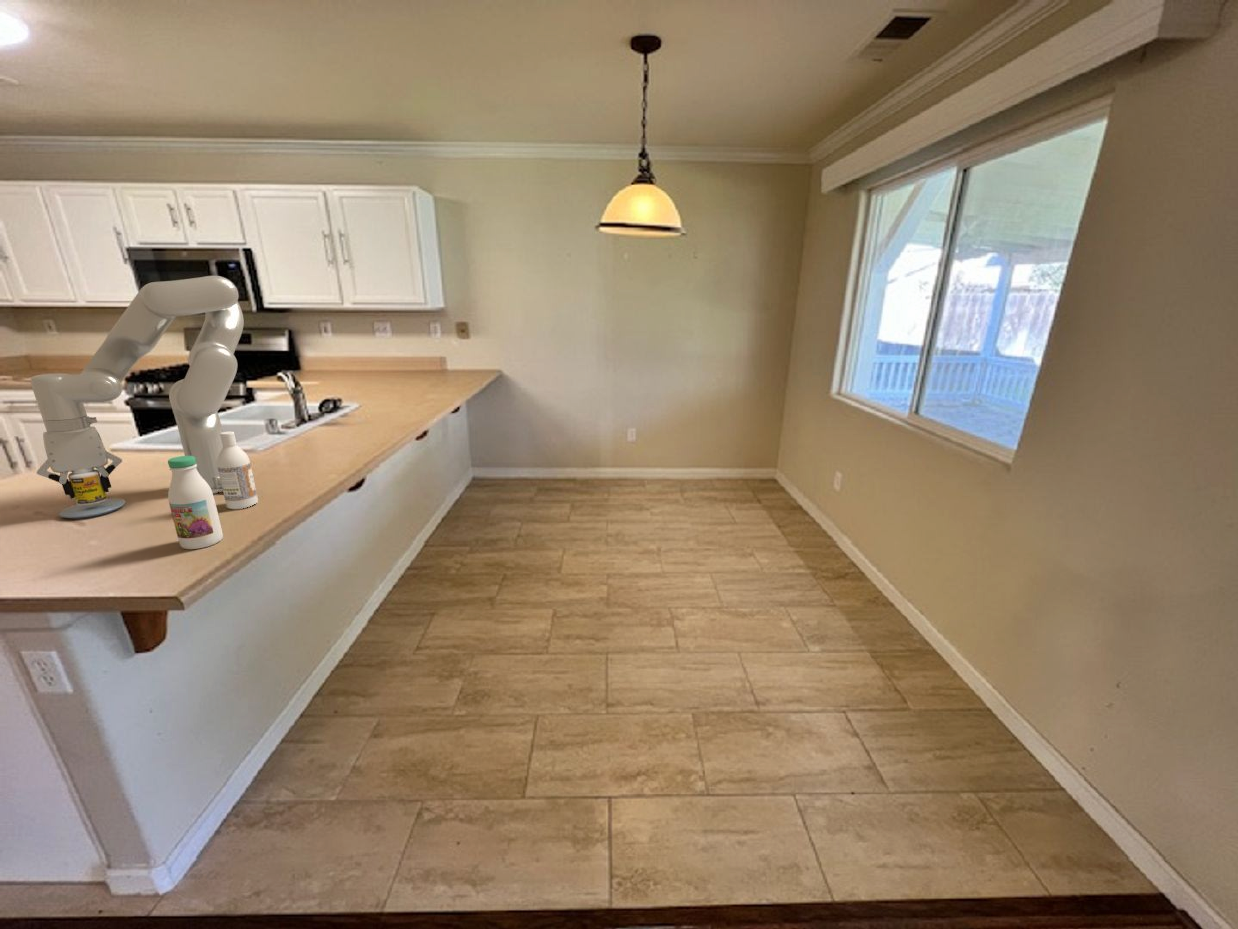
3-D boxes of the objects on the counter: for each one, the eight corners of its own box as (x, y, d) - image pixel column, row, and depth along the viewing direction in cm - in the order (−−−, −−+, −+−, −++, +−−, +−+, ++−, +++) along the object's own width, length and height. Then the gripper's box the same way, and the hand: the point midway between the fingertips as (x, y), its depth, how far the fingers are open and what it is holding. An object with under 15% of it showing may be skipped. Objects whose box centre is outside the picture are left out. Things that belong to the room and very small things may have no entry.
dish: (137, 505, 137) (136, 501, 136) (82, 523, 125) (81, 518, 125) (105, 500, 139) (103, 496, 139) (48, 517, 128) (46, 512, 128)
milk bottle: (196, 535, 120) (175, 453, 114) (231, 534, 120) (212, 452, 114) (171, 550, 112) (147, 463, 106) (209, 549, 113) (187, 463, 107)
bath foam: (256, 507, 136) (240, 434, 130) (224, 511, 133) (206, 437, 127) (260, 499, 142) (245, 428, 136) (230, 502, 139) (213, 430, 133)
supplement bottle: (74, 508, 128) (61, 469, 125) (80, 501, 133) (68, 463, 130) (104, 504, 131) (93, 465, 128) (110, 497, 136) (98, 460, 133)
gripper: (115, 417, 134) (134, 482, 139) (16, 427, 122) (41, 498, 128) (116, 422, 129) (136, 489, 134) (13, 433, 117) (39, 506, 123)
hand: (89, 493), depth 131 cm, fingers closed on supplement bottle, 5 cm apart
